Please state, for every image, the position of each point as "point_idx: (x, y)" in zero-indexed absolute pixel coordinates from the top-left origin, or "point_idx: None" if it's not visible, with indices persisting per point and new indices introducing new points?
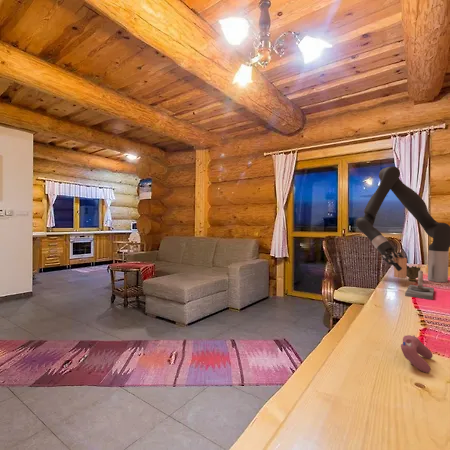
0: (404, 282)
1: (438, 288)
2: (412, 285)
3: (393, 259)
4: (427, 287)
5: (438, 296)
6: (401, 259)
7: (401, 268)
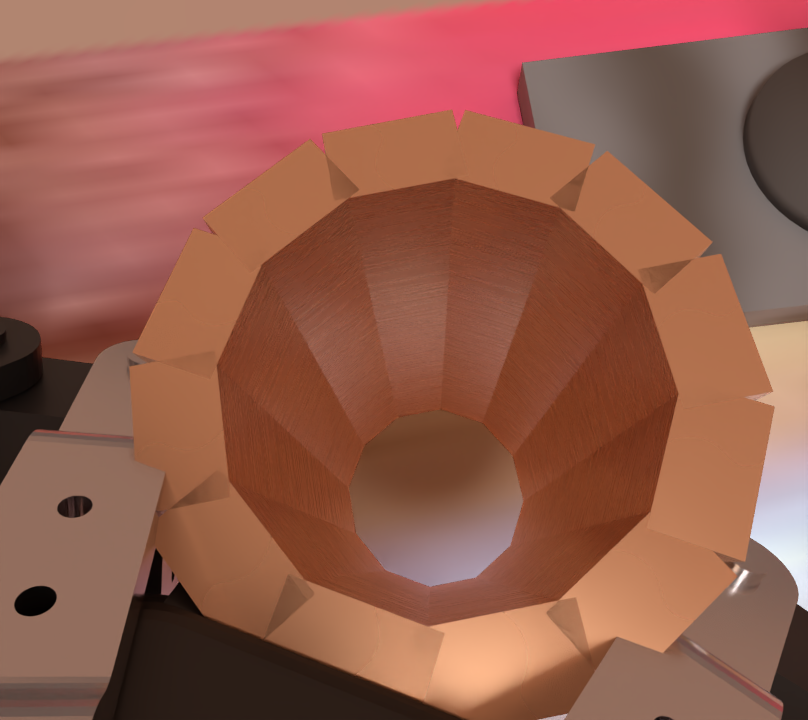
0: None
1: (296, 83)
2: None
3: (764, 691)
4: (568, 118)
5: (803, 16)
6: (713, 283)
7: None
